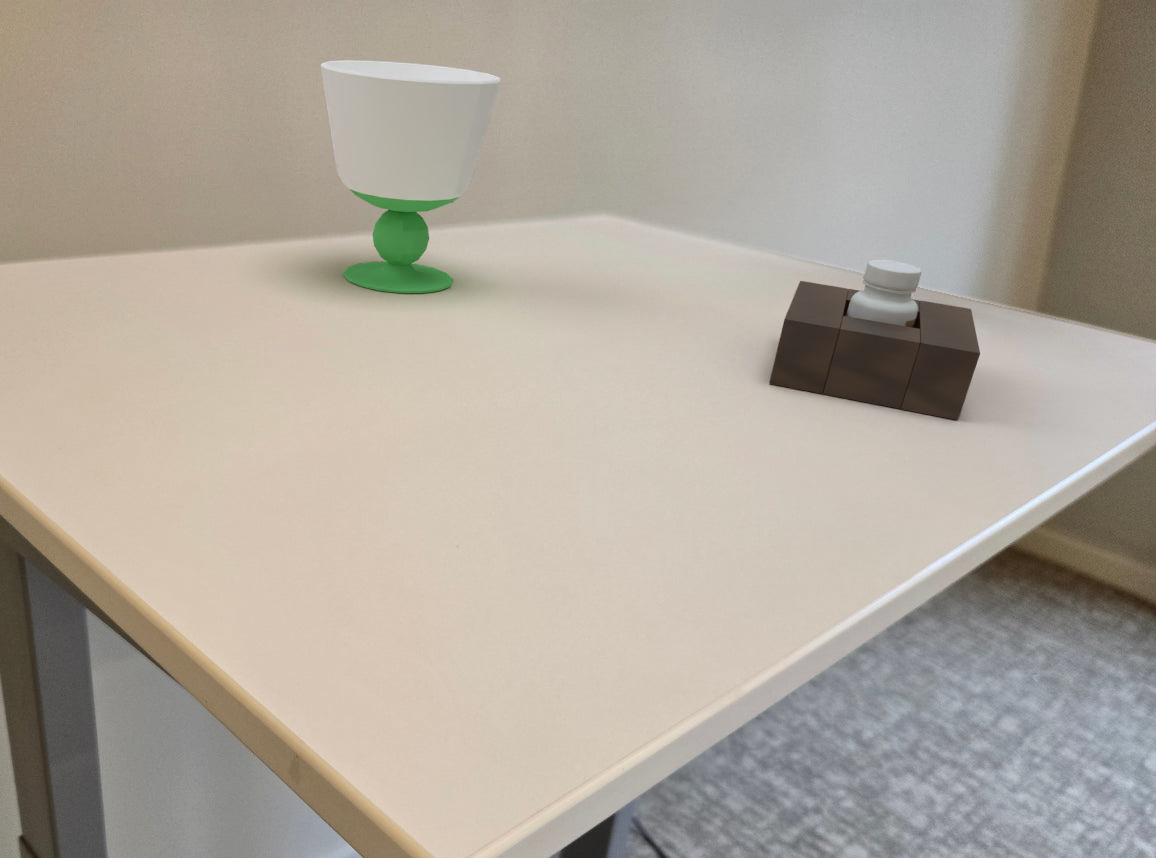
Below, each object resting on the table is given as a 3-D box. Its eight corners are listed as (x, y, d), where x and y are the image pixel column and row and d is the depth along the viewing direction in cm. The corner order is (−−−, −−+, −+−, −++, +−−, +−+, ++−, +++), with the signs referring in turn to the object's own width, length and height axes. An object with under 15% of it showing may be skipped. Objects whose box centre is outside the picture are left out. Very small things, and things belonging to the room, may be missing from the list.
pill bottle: (907, 388, 74) (941, 276, 70) (844, 384, 73) (875, 271, 70) (882, 367, 77) (913, 260, 74) (823, 363, 77) (851, 255, 74)
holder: (952, 369, 79) (971, 308, 77) (958, 420, 69) (980, 352, 67) (785, 338, 82) (800, 280, 80) (768, 384, 72) (784, 318, 70)
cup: (393, 250, 97) (405, 59, 90) (514, 285, 90) (537, 80, 82) (279, 271, 88) (282, 60, 80) (403, 312, 80) (419, 83, 73)
